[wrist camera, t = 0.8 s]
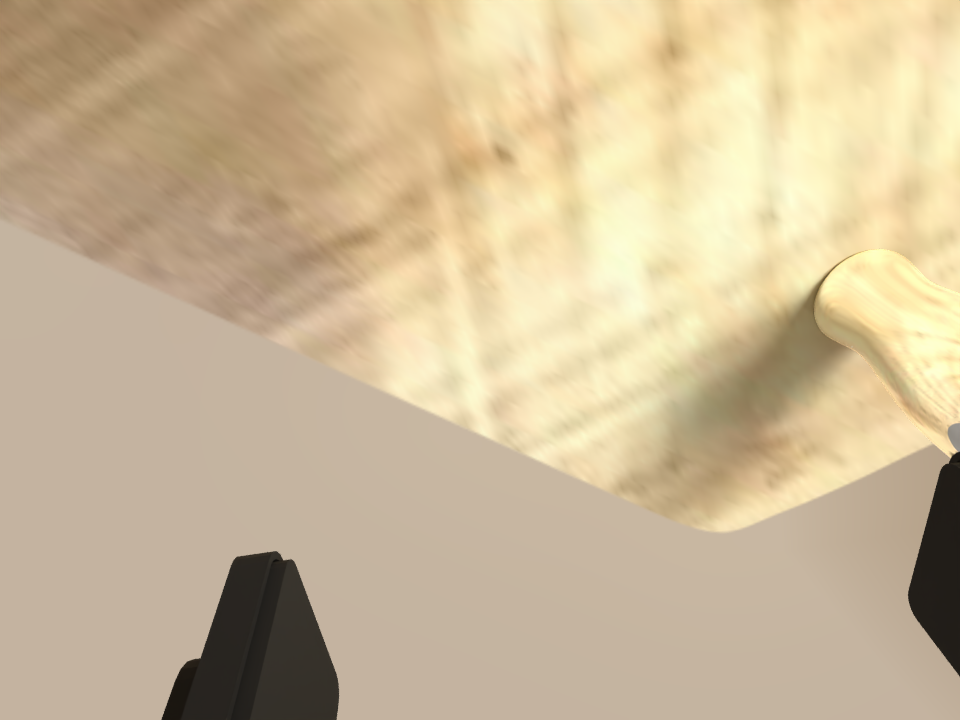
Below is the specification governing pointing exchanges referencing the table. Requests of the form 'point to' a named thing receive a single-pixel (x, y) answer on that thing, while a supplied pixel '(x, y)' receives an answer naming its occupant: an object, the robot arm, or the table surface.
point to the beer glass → (900, 336)
